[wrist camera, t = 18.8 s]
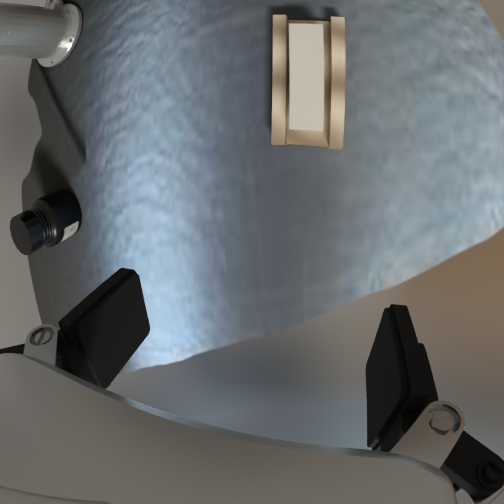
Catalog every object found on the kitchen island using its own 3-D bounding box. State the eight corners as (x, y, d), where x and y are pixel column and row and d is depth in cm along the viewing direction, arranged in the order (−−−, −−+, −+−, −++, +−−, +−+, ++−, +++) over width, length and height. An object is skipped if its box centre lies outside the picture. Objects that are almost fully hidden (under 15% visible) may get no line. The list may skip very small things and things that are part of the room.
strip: (293, 34, 28) (288, 23, 24) (323, 35, 27) (322, 24, 23) (293, 128, 33) (289, 129, 29) (323, 130, 32) (323, 131, 28)
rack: (276, 22, 28) (272, 14, 25) (343, 24, 26) (344, 17, 24) (275, 142, 35) (271, 144, 32) (341, 147, 33) (342, 149, 31)
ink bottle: (58, 234, 50) (15, 260, 40) (47, 191, 47) (1, 212, 36) (89, 233, 48) (42, 262, 37) (78, 185, 44) (26, 207, 34)
